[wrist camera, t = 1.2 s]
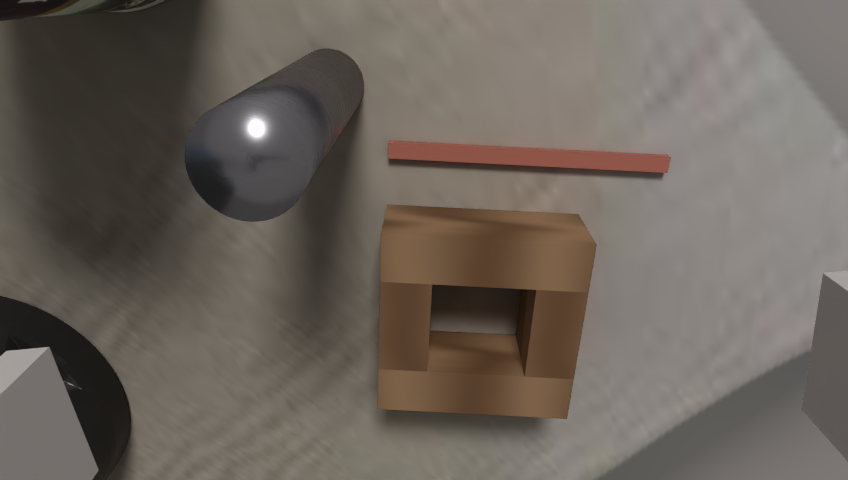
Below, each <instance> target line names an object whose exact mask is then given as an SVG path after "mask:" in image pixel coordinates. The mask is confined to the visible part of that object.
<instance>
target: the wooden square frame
mask: <svg viewBox="0 0 848 480" xmlns="http://www.w3.org/2000/svg"><path fill="white" fill-rule="evenodd" d="M595 251H596V243H595V241H594V240H593V238H592V236H591V235H590V233H589V231H588V230H587V228H586V226H585V225H584V223H583V221H582V220H581V218H580V216H579V215H578V214H559V213H539V212H520V211H501V210H481V209H462V208H443V207H423V206H404V205H387V210H386V214H385V219H384V223H383V228H382V232H381V265H380V311H379V356H378V402H377V409H387V410H407V411H426V412H445V413H464V414H483V415H503V416H522V417H541V418H560V419H567V415H568V410H569V404H570V398H571V392H572V386H573V380H574V374H575V369H576V363H577V357H578V351H579V345H580V339H581V333H582V327H583V322H584V316H585V310H586V304H587V298H588V292H589V286H590V281H591V275H592V269H593V263H594V257H595ZM432 284H433V285H452V286H472V287H491V288H510V289H521V296H520V304H519V312H518V320H517V329H516V335H501V334H482V333H463V332H443V331H429V330H430V313H431V296H432Z"/></svg>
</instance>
